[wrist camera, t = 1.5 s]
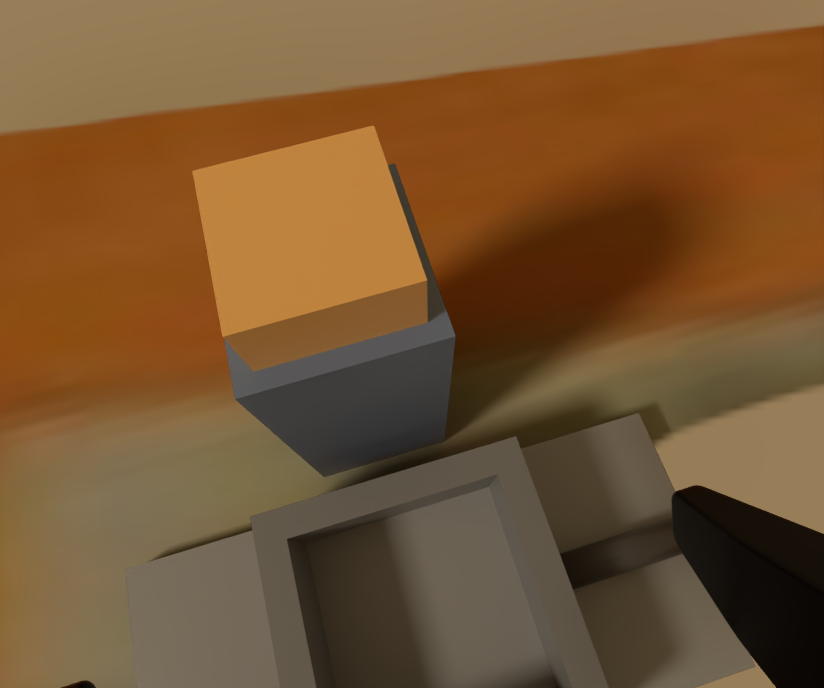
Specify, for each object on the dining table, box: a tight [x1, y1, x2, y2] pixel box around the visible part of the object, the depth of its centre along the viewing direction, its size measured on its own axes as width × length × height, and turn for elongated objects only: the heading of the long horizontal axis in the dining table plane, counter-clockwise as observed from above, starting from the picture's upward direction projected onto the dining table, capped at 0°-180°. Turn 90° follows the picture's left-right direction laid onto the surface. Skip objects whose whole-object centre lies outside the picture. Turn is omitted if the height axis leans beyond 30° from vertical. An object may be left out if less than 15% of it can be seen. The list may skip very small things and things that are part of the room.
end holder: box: [125, 413, 755, 688], centre depth 19 cm, size 9×20×4 cm, turn 106°
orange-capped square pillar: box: [193, 125, 456, 477], centre depth 17 cm, size 5×5×13 cm
